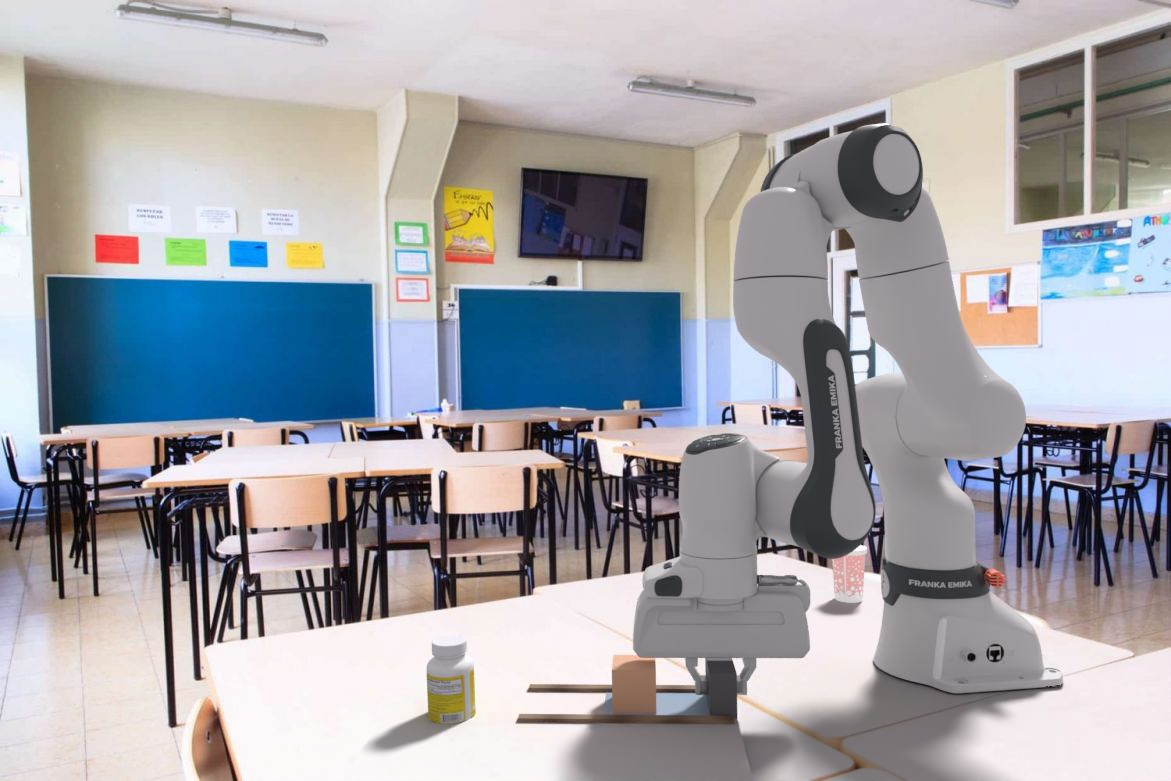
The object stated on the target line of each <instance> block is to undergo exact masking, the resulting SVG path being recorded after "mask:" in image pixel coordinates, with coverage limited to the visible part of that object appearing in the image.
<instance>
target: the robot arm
mask: <svg viewBox="0 0 1171 781" xmlns="http://www.w3.org/2000/svg"><path fill="white" fill-rule="evenodd" d="M923 168H924V167H923V161H922V157H921V153H920V151H919V149H918V146H917V144H916V143H915V142H914V140H913V138H911V136H910V135H909V134H908V133H907V131H905V130H904V129H903V128H902V127H900V126H898V125H896V124H891V123H874V124H873V123H872V124H867V125H862V126H859V127H857V128H855V129H854V130H851V131H846V132H842V133H838V134H835V135H831V136H829V137H826V138H823V139H820V140H819V141H817V142H815V144H813V145H810V146H808V147H806V148H805V149H803V150H800V151H799V152H797V153H793V154H790V155H788V156H786V157H784V158H783V159H781V160H779V162H777V163H775V164H774V166H773V167H772V168H770V170H769V171H768V172H767V174H766V176H765V178H764V180H763V181H762V185H761V188H760V192H758V193H756V194H755V195H754V196H751V198H750V199H749V200H748V201H746V203H745V205H744V207H743V208H742V212H741V216H740V221H739V225H738V231H737V238H736V242H735V243H736V244H735V250H734V251H735V252H734V261H733V262H734V263H733V284H732V285H733V289H732V305H733V308H732V309H733V316H734V321H735V324H736V329H737V332H738V333H739V335H740V336H741V338H742V339H743V340H744V341H745V342H746V343H747V345H749V347H751V348H752V349H753V350H754V351H756V352H758V353H759V354H760V355H762V356H764V357H766V358H768V359H770V360H772V361H773V362H775V363H777V365H779V366H780V367H782V368H783V369H784V370H785V371H786V372H787V373H788V374H789V375H790V376H791V378H793V381H794V382H795V383H796V385H797V387H798V390H799V394H800V400H801V405H802V406H801V407H802V416H803V426H804V435H805V443H806V444H805V446H806V451H807V452H806V453H807V462H800V461H795V460H791V459H785V458H781V456H777V455H774V454H771V453H769V452H767V451H765V450H763V449H761V448H759V447H757V446H756V445H755V444H753V443H752V442H751V441H750V440H749V438H748V437H747V436H746V435H744V434H740V433H733V432H732V433H729V432H728V433H727V432H726V433H720V434H710V435H706V436H703V437H702V436H701V437H700V438H697V439H695V440H693V441H692V442H691V443H690V444H688V445H687V446H686V448H685V449H684V451H683V453H682V458H681V463H680V468H679V479H678V480H679V481H678V513H679V517H680V520H681V524H682V536H681V540H680V543H679V556H677V557H674V558H671V559H668V560H665V561H663V562H662V561H661V562H659V563H654V564H652V565H650V566H648V567H646V568H645V570H644V571H643V574H642V579H641V580H642V581H641V582H642V589H643V590H642V591H641V592H640V594H639V595H638V598H637V601H636V605H635V606H636V607H635V612H634V621H633V634H632V650H633V651H634V653H635V655H638V656H639V657H640V658H655V659H684V662H685V669H687V671H688V673H689V674H690V676H691V678H692V679H693V681H694V685H695V693H696V695H708V679H707V675H706V674H704V675H702V674H701V673H700V672H699V671H698V668H697V667H698V666H699V664H698V663H699V659H705V658H732V659H741V660H742V663H743V665H744V666H743V668H742V670H741V672H740V673H739V675H738V674H737V696H748V681H749V680H750V678H751V677H752V676H753V674H754V672H755V670H756V668H757V659H803V658H805V657H806V656H807V654H809V652H810V650H811V642H810V641H811V640H810V632H809V625H808V618H807V614H806V613H807V612H808V610H809V608H810V606H811V588H810V587H809V584H807V582H806V581H805V580H803V579H801V578H797V575H794V574H785V575H776V574H775V575H774V574H758V546H757V541H758V539H760V538H769V539H770V540H774V541H777V542H781V543H784V544H788V545H792V546H795V547H798V548H800V549H802V550H805V551H807V552H809V553H812V554H814V555H816V556H819V557H822V558H823V559H828V560H832V559H837V558H841V557H844V556H846V555H848V554H849V553H851V552H852V551H854V550H855V549H856V548H858V547H859V546H860V545H862V544H863V543H864V542H865V541H866V540H867V538H868V537H869V535H870V534H871V531H872V529H873V527H874V524H875V521H876V514H877V513H876V512H877V511H876V508H877V507H876V501H875V496H874V492H873V488H872V485H871V482H870V478H869V475H868V470H867V468H866V463H865V458H864V456H865V455H864V452H865V453H866V454H867V457H868V458H869V461H870V464H871V465H872V468H873V470H874V473H875V476H876V479H877V482H878V485H879V489H880V492H881V493H880V495H881V497H882V498H881V499H882V504H883V518H884V519H883V522H884V523H883V525H884V550H885V555H884V556H883V557H882V560H881V570H880V590H881V596H882V597H881V598H882V600H883V609H882V610H883V611H882V619H881V625H880V632H879V638H878V641H877V646H876V649H875V652H874V655H873V658H872V659H873V664H875V666H876V667H877V668H879V670H882V671H883V672H885V673H886V674H889V675H891V676H894V677H897V678H900V679H902V680H906V681H909V682H914V683H918V684H923V685H927V686H930V687H933V688H934V689H935V688H936V689H938V690H941V691H943V692H947V693H950V694H966V693H968V694H969V693H970V694H971V693H980V692H981V693H982V692H993V691H994V692H995V691H996V692H997V691H1009V690H1010V691H1011V690H1022V689H1024V690H1025V689H1037V688H1039V689H1040V688H1050V687H1049V686H1052V687H1056V686H1055V685H1060V684H1062V685H1063V683H1062V682H1064V678H1063V672H1062V670H1061V669H1060V667H1059V666H1058V665H1057V664H1056V663H1055V662H1054V661H1053V660H1052V659H1050V658H1049V657H1047V656H1045V655H1043V651H1042V646H1041V642H1040V639H1039V635H1038V633H1037V631H1036V629H1035V628H1034V626H1033V624H1032V623H1031V622H1030V621H1029V620H1028V619H1026V617H1024V615H1022V614H1020V613H1019V612H1018V611H1016V610H1015V609H1014V608H1013V607H1012V606H1010V605H1009V604H1008V603H1006V602H1005V600H1004V601H1003V599H1001V598H1000V597H998V596H997V595H996V594H994V593H993V592H991V586H992V587H993V588H995V589H999V588H1002V587H1003V586H1004V585H1005V584H1006V581H1007V579H1006V576H1005V575H1004V574H1003V573H1002V572H1000V571H998V569H996V568H988V567H987V566H984V565H982V564H981V563H979V562H978V561H976V510H975V506H974V504H973V501H972V499H971V498H970V497H969V495H967V493H966V492H964V490H962V489H961V488H960V487H959V486H958V485H957V484H956V482H955V481H954V479H953V477H952V476H951V474H950V472H949V470H948V467H947V464H946V461H945V459H948V460H949V459H950V460H957V461H963V462H968V461H978V460H979V461H980V460H981V461H982V460H986V459H994V458H1000V457H1003V456H1005V455H1008V454H1009V453H1011V452H1012V451H1013V450H1014V448H1016V447H1017V445H1019V443H1020V441H1021V439H1022V437H1023V435H1024V432H1025V429H1026V423H1027V413H1026V412H1027V411H1026V408H1025V404H1024V401H1023V399H1022V396H1021V395H1020V393H1019V391H1018V390H1017V389H1016V387H1015V386H1014V385H1013V384H1011V383H1010V382H1009V381H1007V380H1005V379H1004V378H1002V377H1001V376H1000V375H998V373H996V372H995V371H994V370H993V369H992V368H991V367H990V366H989V364H987V362H986V361H985V360H984V359H983V357H982V356H981V355H980V353H979V352H978V350H977V348H976V346H975V345H974V344H973V341H972V340H971V338H970V337H969V335H968V332H967V330H966V328H965V325H964V323H963V320H962V318H961V313H960V309H959V306H958V301H957V296H956V291H955V287H954V286H955V285H954V281H953V276H952V271H951V265H950V261H949V259H950V258H949V253H948V249H947V248H948V247H947V244H946V240H945V236H944V232H943V229H942V226H941V221H940V219H939V216H938V213H937V211H936V207H935V205H934V203H933V200H932V198H931V195H930V194H929V192H928V191H927V190H926V189H925V188H924V187H923V179H924V169H923ZM839 230H840V231H841V230H845V231H846V232H847V233H848V235H849V236H850V238H851V239H852V241H853V243H854V252H855V254H854V255H855V261H856V269H857V275H858V276H857V277H858V281H859V288H860V294H861V298H862V304H863V309H864V314H865V320H866V326H867V331H868V334H869V335H870V338H871V339H872V340H873V341H874V343H876V344H877V345H879V346H880V347H881V348H883V349H884V350H885V351H887V352H888V354H889V355H890V356H891V358H893V360H894V361H895V362H896V364H897V365H898V367H899V369H900V371H901V372H888V373H883V374H881V375H880V374H879V375H877V376H872V377H870V378H866V379H864V380H862V381H860V382H858V383H855V374H854V369H853V362H852V355H851V351H850V347H849V344H848V340H847V338H846V335H845V334H844V332H843V331H842V329H841V328H840V327H839V326H838V325H837V323H836V322H835V319H834V317H833V313H832V309H831V303H830V297H829V285H828V284H829V281H828V280H829V264H828V262H829V261H828V249H827V248H828V247H827V246H828V243H829V240H830V237H831V234H832V233H833V232H835V231H839ZM863 450H864V451H863ZM1046 686H1048V687H1046ZM1060 686H1061V685H1060Z"/></svg>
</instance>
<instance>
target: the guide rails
mask: <svg viewBox="0 0 1171 781" xmlns="http://www.w3.org/2000/svg"><path fill="white" fill-rule="evenodd" d="M528 692H530V693H531V692H546V693H547V692H548V693H550V692H551V693H553V692H556V693H557V692H559V693H566V692H567V693H581V692H582V693H612V684H584V683H583V684H575V683H574V684H570V683H569V684H568V683H566V684H565V683H562V684H560V683H558V684H551V683H547V684H546V683H545V684H543V683H530V684H529V686H528ZM656 693H695V684H694V685H693V684H656ZM517 722H518V723H545V724H546V723H549V724H550V723H551V724H552V723H561V724H562V723H564V724H565V723H568V724H575V723H576V724H654V725H655V724H658V725H659V724H663V725H665V724H666V725H671V724H672V725H693V724H694V725H735V719H733V716H710V715H604V714H594V713H593V714H585V713H584V714H583V713H582V714H577V713H574V714H573V713H568V714H567V713H519V714H518V716H517Z"/></svg>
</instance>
